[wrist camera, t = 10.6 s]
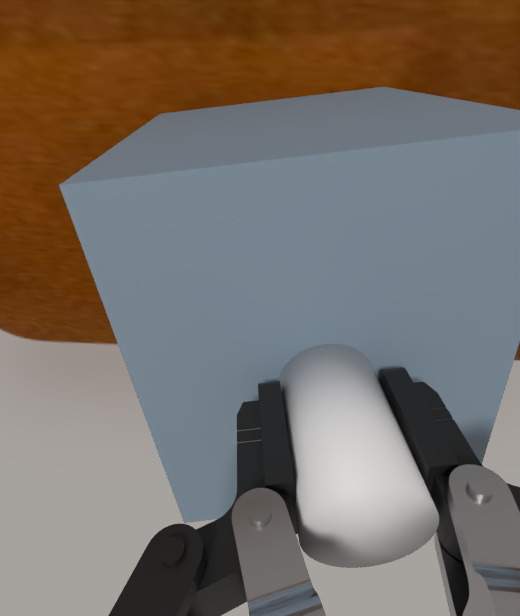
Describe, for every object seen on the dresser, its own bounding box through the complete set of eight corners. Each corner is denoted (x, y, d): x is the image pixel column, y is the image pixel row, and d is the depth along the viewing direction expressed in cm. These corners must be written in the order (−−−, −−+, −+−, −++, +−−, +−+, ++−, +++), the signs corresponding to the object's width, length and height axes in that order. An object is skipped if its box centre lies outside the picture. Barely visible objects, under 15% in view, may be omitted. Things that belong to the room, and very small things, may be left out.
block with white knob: (384, 86, 22) (880, 172, 5) (371, 307, 30) (551, 631, 13) (159, 113, 22) (-84, 286, 5) (205, 326, 30) (167, 673, 13)
